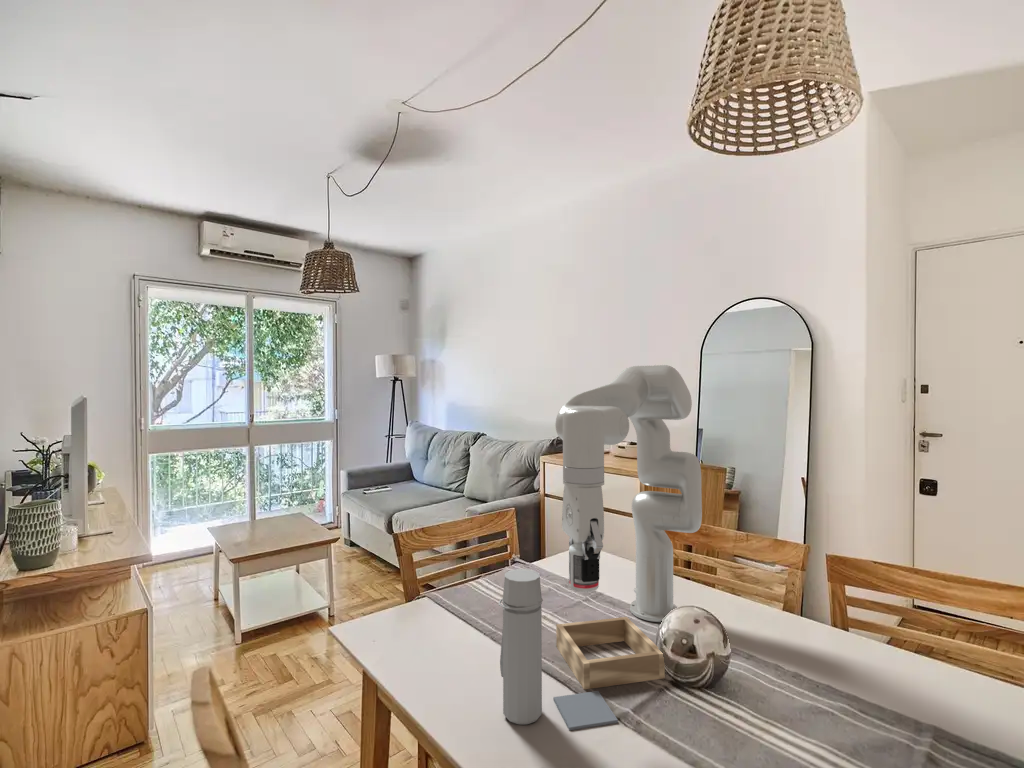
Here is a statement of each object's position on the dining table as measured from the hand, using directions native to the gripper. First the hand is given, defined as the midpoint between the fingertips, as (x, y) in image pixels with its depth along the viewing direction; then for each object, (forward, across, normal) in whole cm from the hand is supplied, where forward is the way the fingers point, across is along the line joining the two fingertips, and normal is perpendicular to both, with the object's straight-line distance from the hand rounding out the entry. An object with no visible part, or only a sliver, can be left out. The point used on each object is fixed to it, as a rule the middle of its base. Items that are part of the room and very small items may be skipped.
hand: (584, 573), depth 94 cm
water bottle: (+25, -2, -12) cm, 28 cm away
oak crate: (+25, -15, +11) cm, 31 cm away
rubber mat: (+25, 0, 0) cm, 25 cm away
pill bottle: (+3, 0, 0) cm, 3 cm away
